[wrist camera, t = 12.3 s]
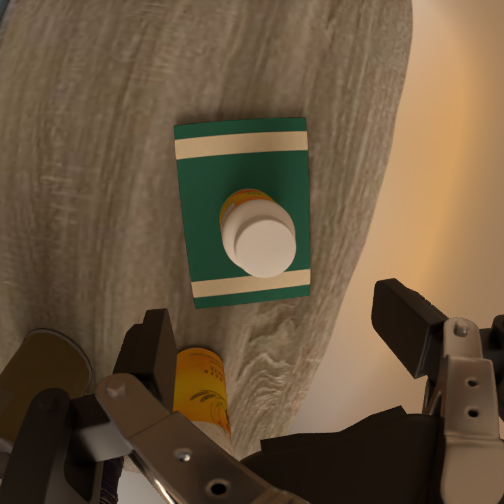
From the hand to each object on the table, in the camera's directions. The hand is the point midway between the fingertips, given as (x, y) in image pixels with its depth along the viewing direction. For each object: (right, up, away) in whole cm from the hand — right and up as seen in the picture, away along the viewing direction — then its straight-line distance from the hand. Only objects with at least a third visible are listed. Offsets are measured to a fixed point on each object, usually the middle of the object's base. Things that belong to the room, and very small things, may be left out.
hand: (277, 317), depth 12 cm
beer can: (-7, -11, +24) cm, 27 cm away
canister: (-26, -12, +22) cm, 36 cm away
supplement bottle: (-1, +6, +18) cm, 19 cm away
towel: (-1, +6, +19) cm, 20 cm away
